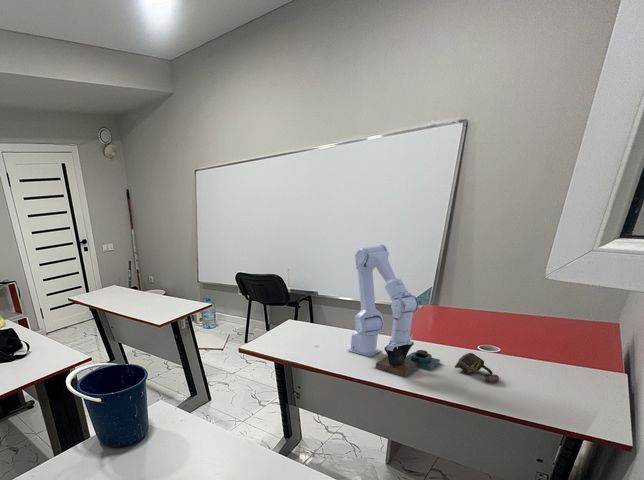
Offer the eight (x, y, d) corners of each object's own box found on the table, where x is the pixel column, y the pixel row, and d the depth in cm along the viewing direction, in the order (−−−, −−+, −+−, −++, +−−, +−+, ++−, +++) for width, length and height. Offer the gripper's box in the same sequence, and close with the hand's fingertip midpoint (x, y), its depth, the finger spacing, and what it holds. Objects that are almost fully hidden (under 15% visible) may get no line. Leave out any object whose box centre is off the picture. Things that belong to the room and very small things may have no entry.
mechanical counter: (483, 352, 129) (454, 348, 130) (510, 364, 117) (479, 360, 118) (475, 370, 132) (447, 367, 132) (502, 384, 119) (471, 380, 120)
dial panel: (375, 368, 139) (376, 362, 138) (387, 360, 143) (388, 354, 142) (405, 377, 130) (406, 370, 129) (417, 369, 135) (418, 362, 134)
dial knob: (399, 366, 133) (401, 356, 132) (388, 363, 136) (389, 354, 135) (405, 362, 135) (406, 353, 134) (394, 359, 138) (395, 350, 137)
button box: (401, 362, 141) (402, 354, 139) (411, 356, 144) (412, 348, 143) (429, 370, 133) (431, 362, 131) (439, 363, 137) (441, 355, 135)
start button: (414, 356, 138) (414, 352, 137) (418, 353, 140) (419, 349, 139) (424, 358, 135) (424, 354, 134) (428, 355, 137) (429, 351, 136)
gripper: (402, 336, 124) (398, 371, 129) (423, 325, 131) (417, 358, 136) (382, 332, 129) (378, 366, 135) (402, 321, 136) (398, 354, 142)
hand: (397, 362), depth 136 cm, fingers open, 6 cm apart
